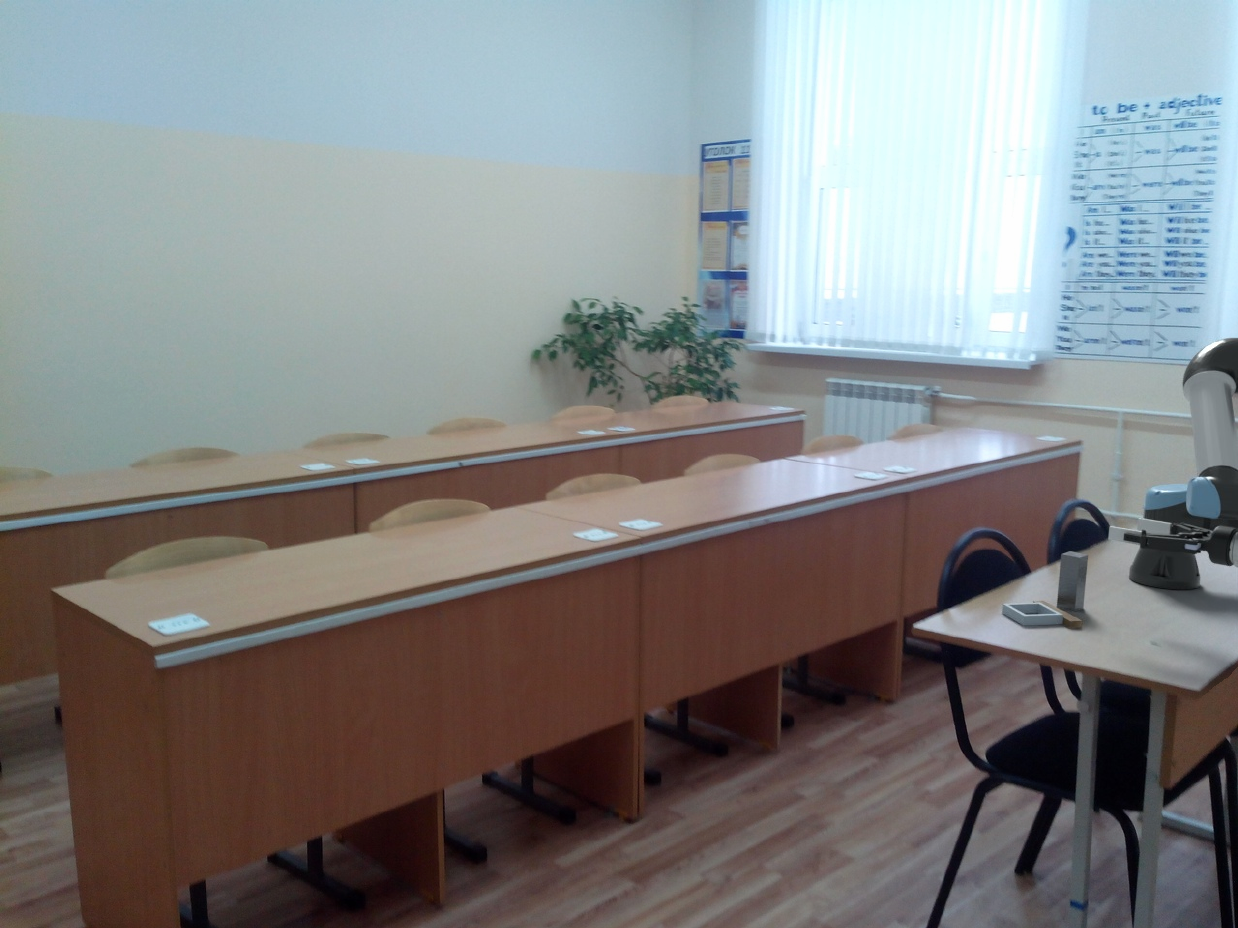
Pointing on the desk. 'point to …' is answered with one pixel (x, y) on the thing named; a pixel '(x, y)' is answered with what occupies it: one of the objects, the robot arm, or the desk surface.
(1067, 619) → the sill strip
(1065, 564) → the bar
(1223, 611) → the desk surface
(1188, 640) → the desk surface
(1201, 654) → the desk surface
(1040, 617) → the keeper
